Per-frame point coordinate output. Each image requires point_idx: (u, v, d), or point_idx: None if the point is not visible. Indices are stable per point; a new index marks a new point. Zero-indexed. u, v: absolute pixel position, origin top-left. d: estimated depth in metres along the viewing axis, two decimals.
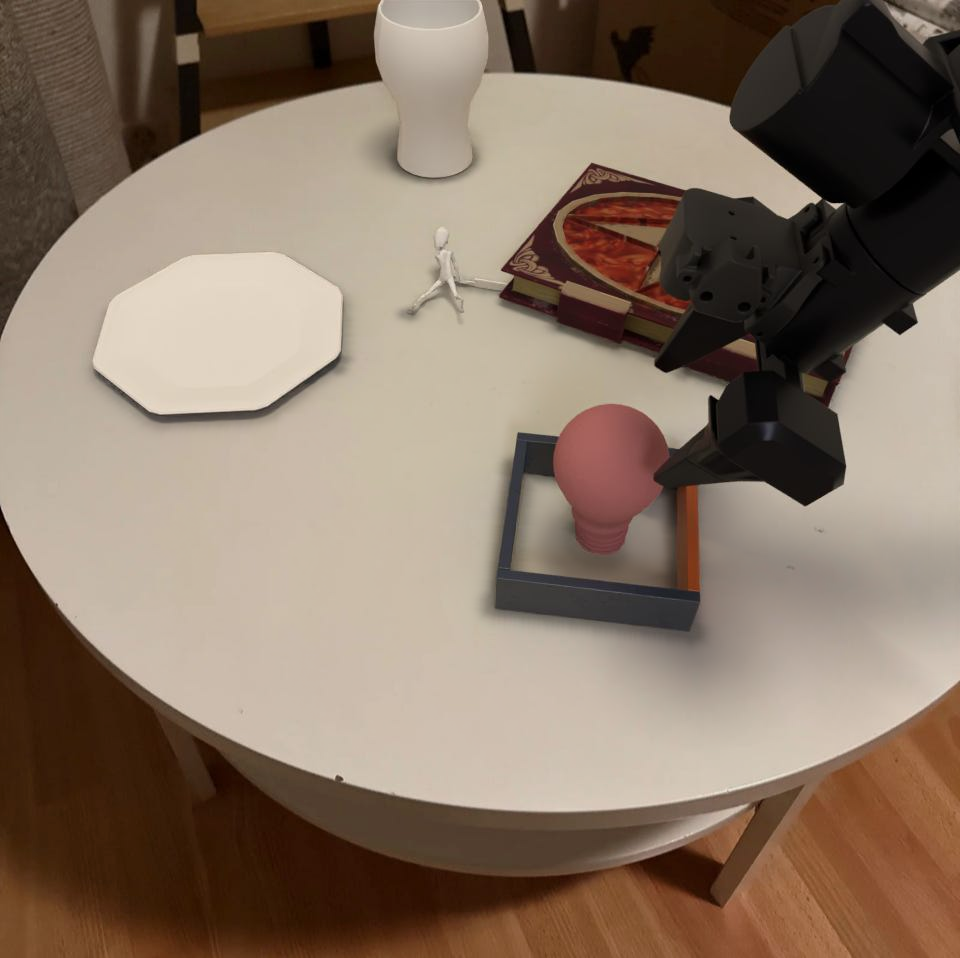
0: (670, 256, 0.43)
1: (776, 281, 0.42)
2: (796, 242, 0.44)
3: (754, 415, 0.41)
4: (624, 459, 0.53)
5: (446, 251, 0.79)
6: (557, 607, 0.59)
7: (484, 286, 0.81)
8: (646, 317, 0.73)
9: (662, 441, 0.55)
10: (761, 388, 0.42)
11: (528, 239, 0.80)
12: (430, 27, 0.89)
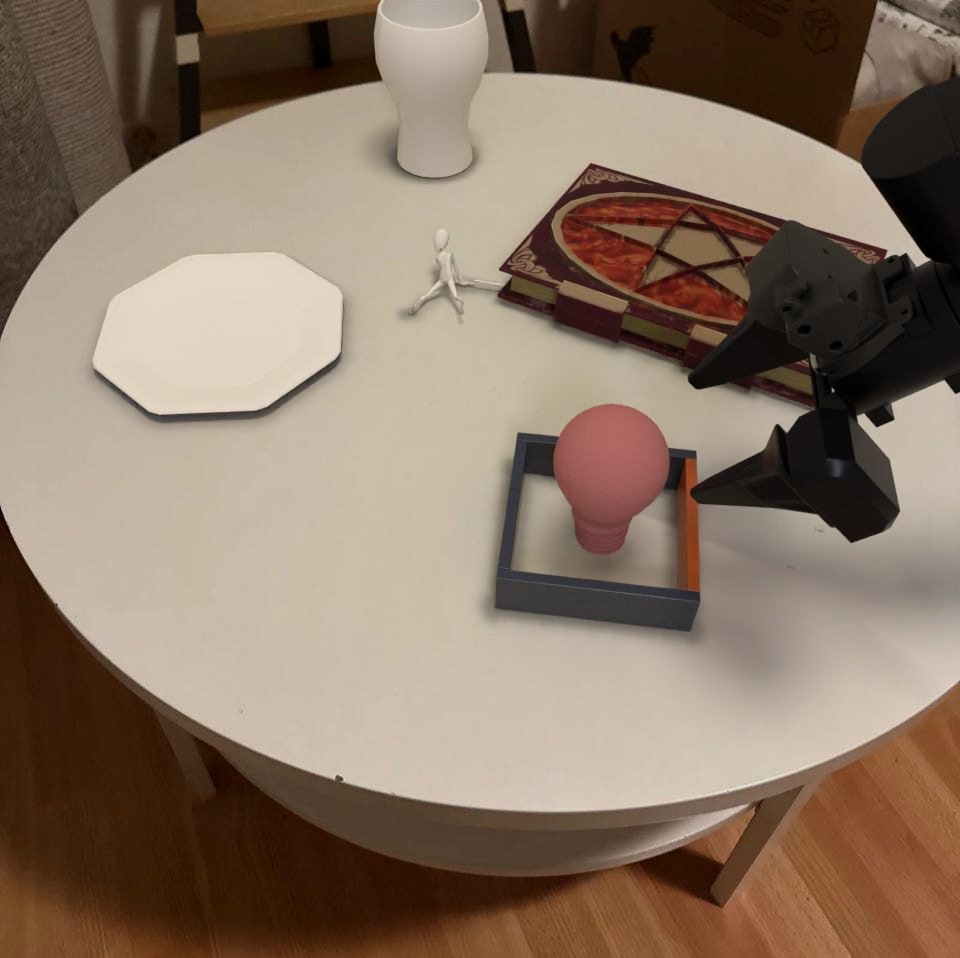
0: (766, 283, 0.44)
1: None
2: (880, 290, 0.45)
3: (832, 451, 0.42)
4: (624, 459, 0.53)
5: (446, 252, 0.79)
6: (557, 607, 0.59)
7: (484, 287, 0.81)
8: (643, 316, 0.73)
9: (662, 441, 0.55)
10: (837, 426, 0.43)
11: (526, 239, 0.80)
12: (430, 27, 0.89)
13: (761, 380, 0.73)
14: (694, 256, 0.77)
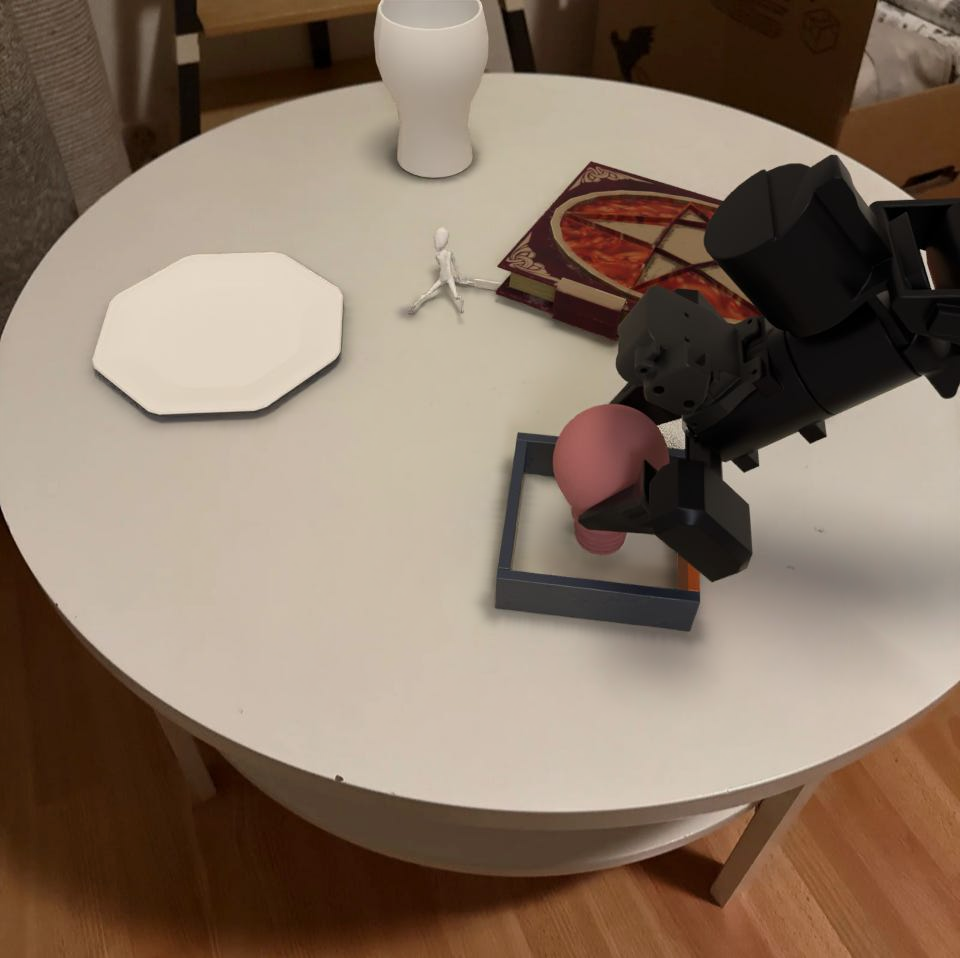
0: (629, 345, 0.48)
1: (717, 383, 0.48)
2: (737, 350, 0.49)
3: (684, 501, 0.46)
4: (623, 459, 0.53)
5: (446, 251, 0.79)
6: (557, 607, 0.59)
7: (484, 286, 0.81)
8: None
9: (662, 441, 0.55)
10: (692, 477, 0.47)
11: (525, 236, 0.80)
12: (430, 27, 0.89)
13: None
14: (692, 254, 0.77)
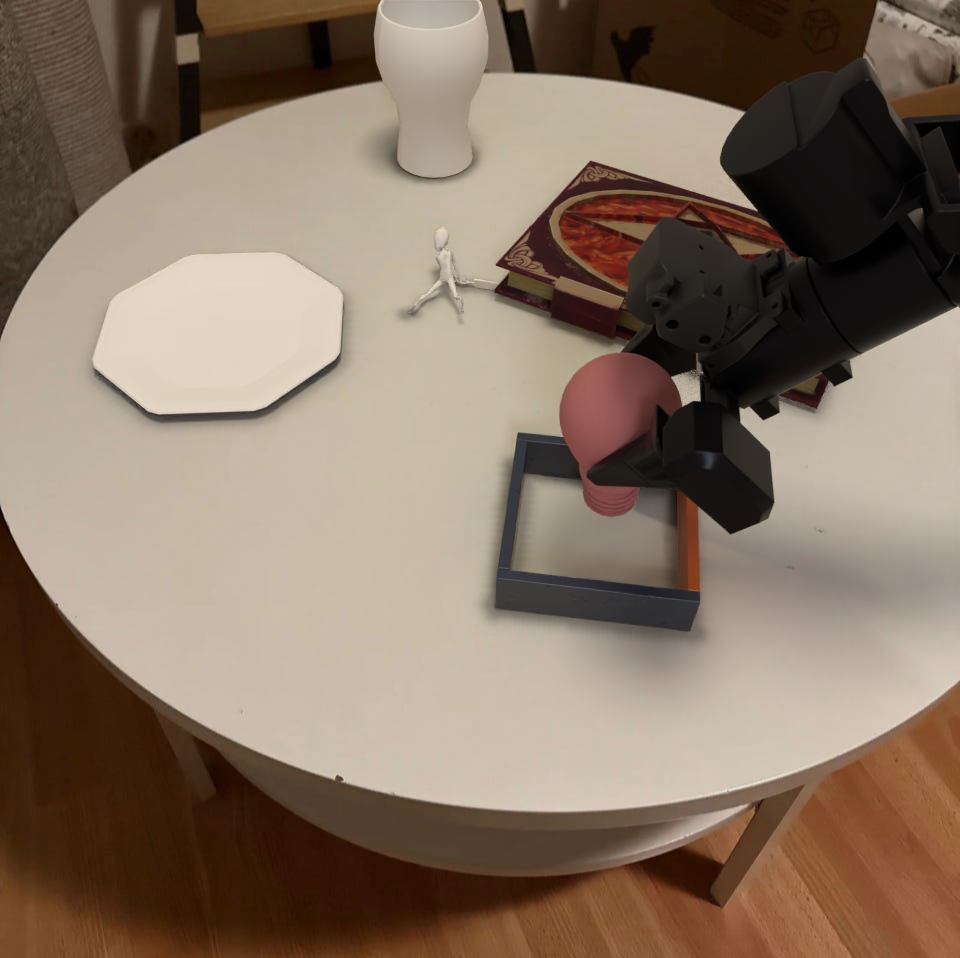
0: (640, 279, 0.45)
1: (735, 319, 0.45)
2: (756, 285, 0.46)
3: (701, 444, 0.43)
4: (634, 408, 0.50)
5: (446, 252, 0.79)
6: (557, 607, 0.59)
7: (484, 287, 0.81)
8: None
9: (675, 390, 0.52)
10: (709, 419, 0.44)
11: (524, 235, 0.80)
12: (430, 27, 0.89)
13: None
14: None
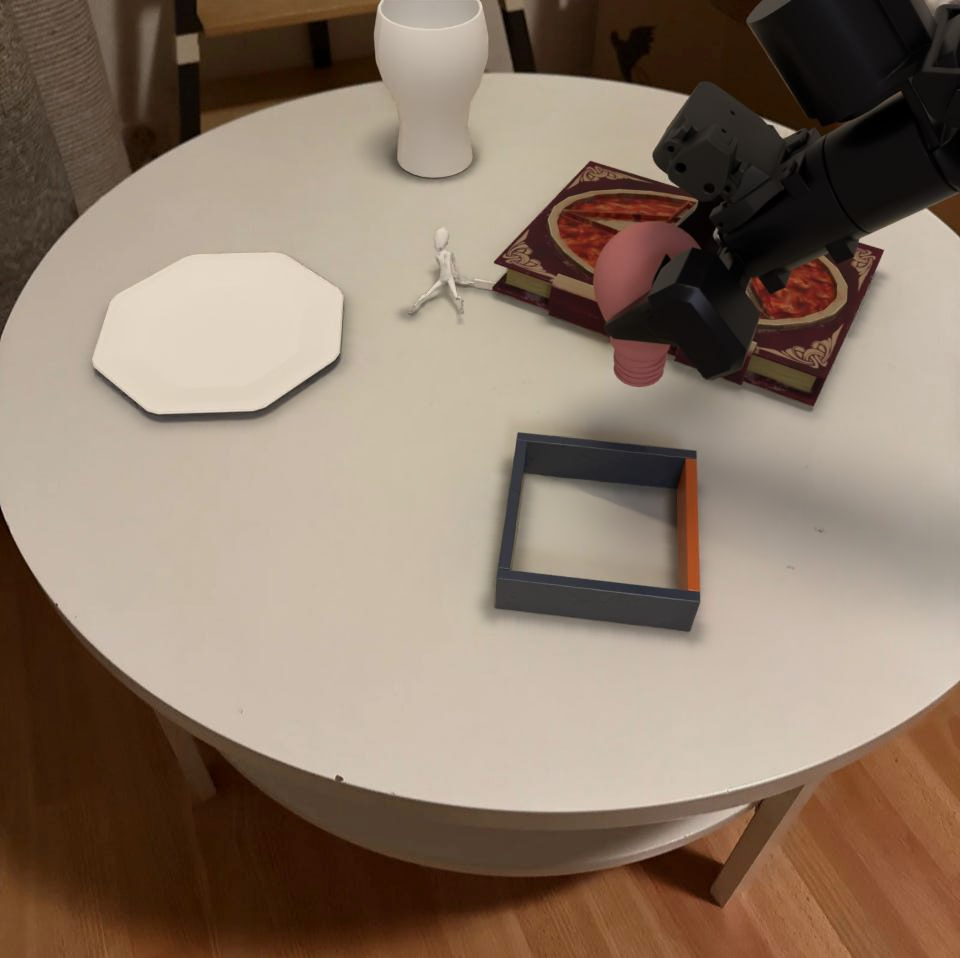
0: (667, 131, 0.49)
1: (746, 179, 0.48)
2: (778, 155, 0.49)
3: (683, 279, 0.47)
4: (654, 265, 0.54)
5: (446, 252, 0.79)
6: (557, 607, 0.59)
7: (484, 287, 0.81)
8: None
9: None
10: (699, 262, 0.48)
11: (522, 233, 0.80)
12: (430, 27, 0.89)
13: (752, 375, 0.73)
14: None
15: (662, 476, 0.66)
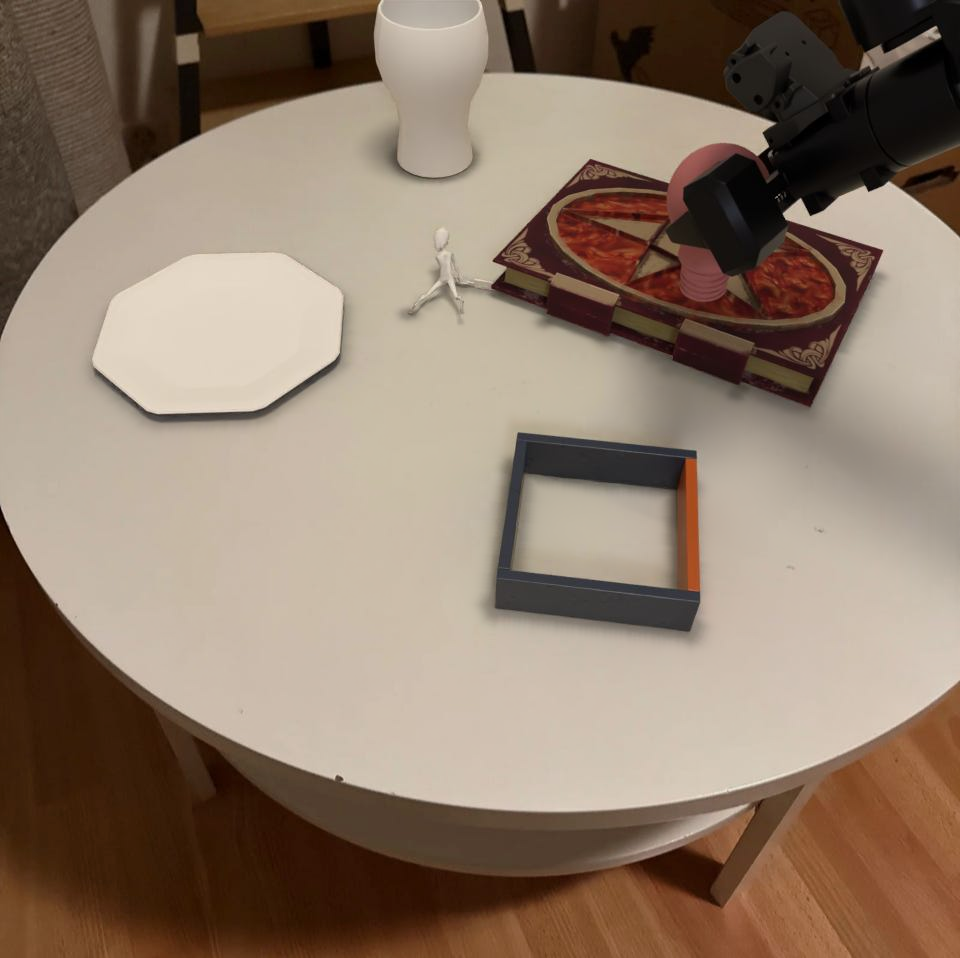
0: None
1: (797, 99, 0.54)
2: (835, 85, 0.54)
3: (715, 174, 0.53)
4: None
5: (446, 252, 0.79)
6: (557, 607, 0.59)
7: (484, 287, 0.81)
8: (634, 310, 0.74)
9: None
10: (736, 164, 0.54)
11: (521, 231, 0.81)
12: (430, 27, 0.89)
13: (750, 376, 0.73)
14: None
15: (662, 476, 0.66)
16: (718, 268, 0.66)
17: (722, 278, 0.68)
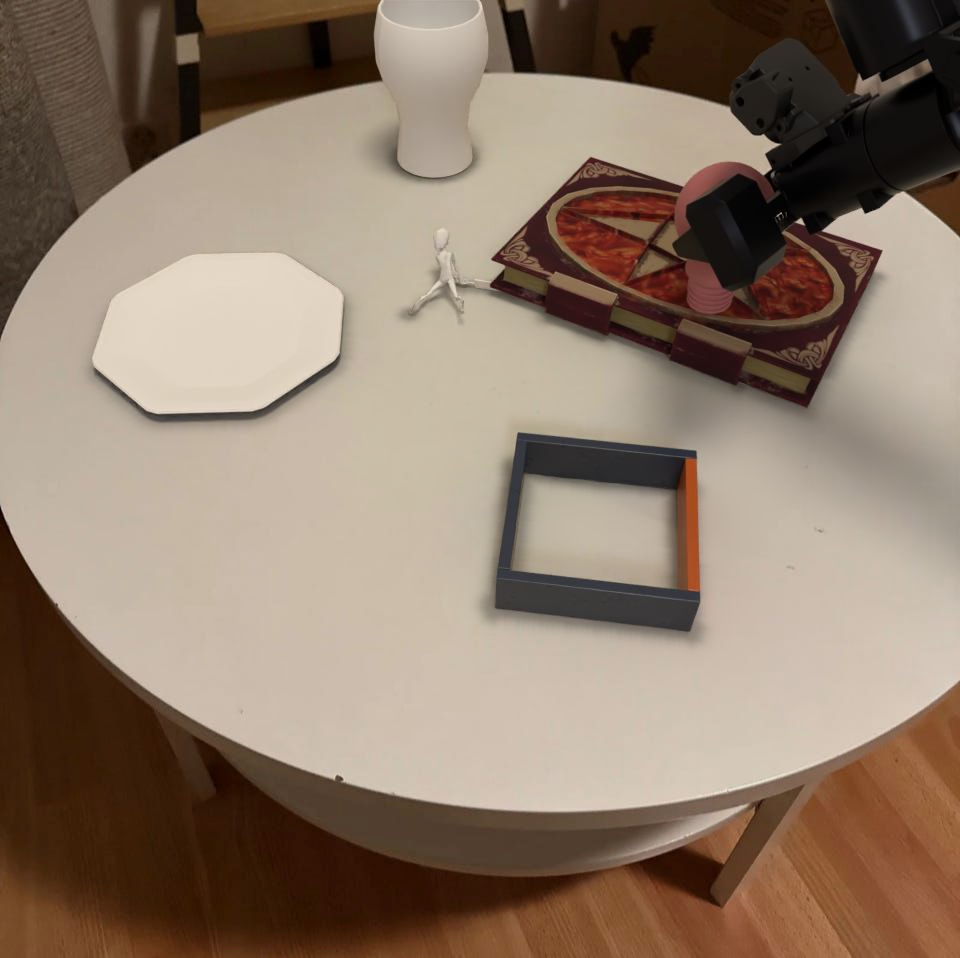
0: None
1: (798, 123, 0.56)
2: (836, 110, 0.56)
3: (716, 193, 0.56)
4: None
5: (446, 252, 0.79)
6: (557, 607, 0.59)
7: (484, 287, 0.81)
8: (632, 309, 0.74)
9: None
10: (737, 184, 0.56)
11: (521, 230, 0.81)
12: (430, 27, 0.89)
13: (747, 376, 0.73)
14: None
15: (662, 476, 0.66)
16: None
17: (727, 291, 0.70)
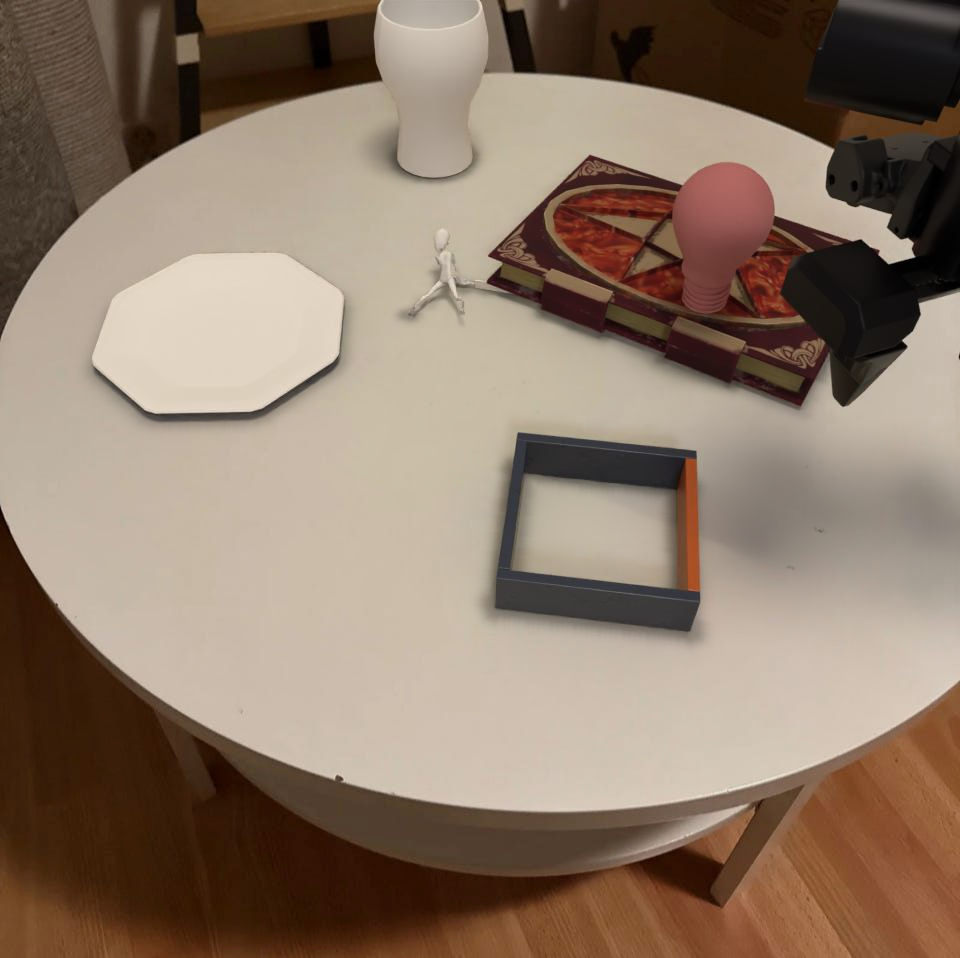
0: None
1: (904, 174, 0.48)
2: None
3: None
4: (719, 196, 0.63)
5: (447, 252, 0.79)
6: (557, 607, 0.59)
7: (485, 287, 0.81)
8: (627, 307, 0.74)
9: (764, 204, 0.63)
10: None
11: (518, 227, 0.81)
12: (430, 27, 0.89)
13: (741, 374, 0.73)
14: None
15: (662, 476, 0.66)
16: (719, 282, 0.69)
17: (723, 292, 0.70)
